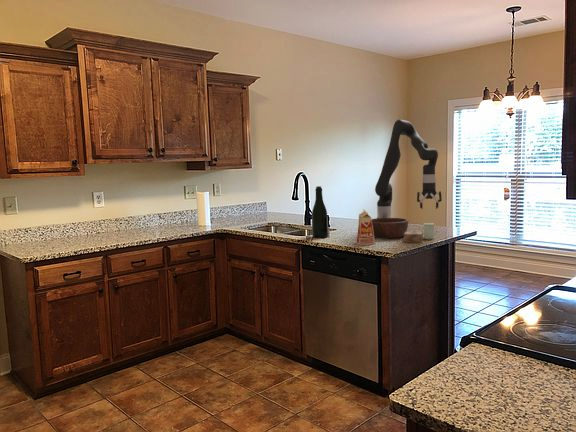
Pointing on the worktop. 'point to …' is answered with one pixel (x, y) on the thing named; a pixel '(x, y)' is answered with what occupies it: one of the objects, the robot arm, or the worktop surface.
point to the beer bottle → (319, 216)
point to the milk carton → (365, 230)
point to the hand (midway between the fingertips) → (429, 208)
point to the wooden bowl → (389, 227)
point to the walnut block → (413, 236)
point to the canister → (428, 230)
